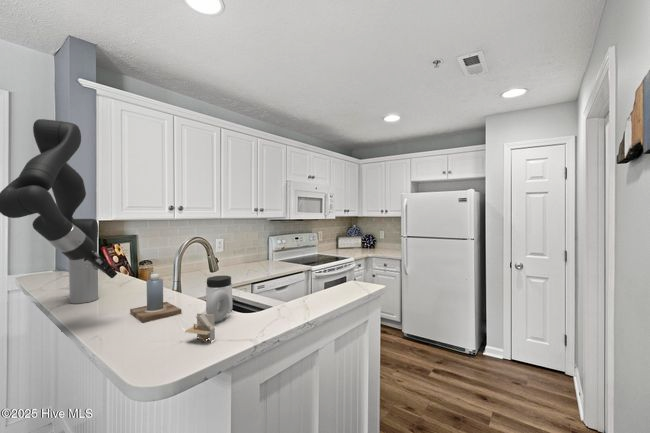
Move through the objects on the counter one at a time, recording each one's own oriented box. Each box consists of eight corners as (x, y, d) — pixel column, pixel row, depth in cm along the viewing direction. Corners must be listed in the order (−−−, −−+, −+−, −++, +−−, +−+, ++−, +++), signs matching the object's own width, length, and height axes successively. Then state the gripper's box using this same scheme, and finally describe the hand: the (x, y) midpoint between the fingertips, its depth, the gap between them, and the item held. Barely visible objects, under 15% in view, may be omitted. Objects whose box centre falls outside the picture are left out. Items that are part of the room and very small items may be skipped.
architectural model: (207, 347, 80) (206, 319, 80) (185, 344, 82) (184, 316, 82) (215, 342, 83) (214, 314, 83) (194, 339, 85) (193, 312, 85)
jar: (212, 308, 112) (211, 275, 112) (234, 307, 113) (234, 274, 113) (203, 316, 103) (202, 280, 103) (227, 315, 104) (227, 280, 104)
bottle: (145, 308, 107) (144, 274, 106) (160, 305, 110) (159, 272, 110) (149, 311, 103) (149, 276, 103) (165, 308, 107) (164, 274, 107)
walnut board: (130, 313, 107) (130, 308, 107) (166, 305, 116) (166, 301, 116) (142, 322, 98) (142, 317, 98) (181, 313, 106) (181, 308, 106)
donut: (213, 327, 93) (212, 294, 93) (203, 326, 94) (203, 293, 94) (232, 316, 102) (231, 286, 102) (223, 315, 103) (223, 286, 103)
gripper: (96, 239, 90) (129, 269, 102) (70, 226, 96) (103, 256, 107) (73, 258, 86) (109, 288, 97) (46, 243, 91) (84, 273, 103)
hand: (106, 271), depth 102 cm, fingers open, 8 cm apart
